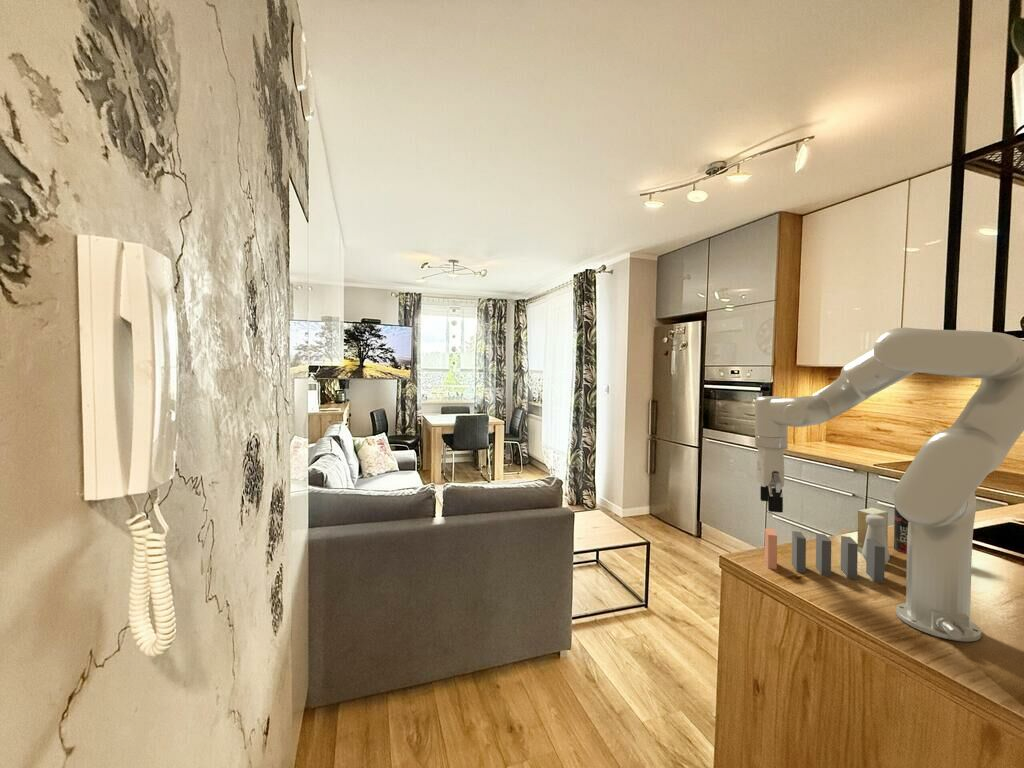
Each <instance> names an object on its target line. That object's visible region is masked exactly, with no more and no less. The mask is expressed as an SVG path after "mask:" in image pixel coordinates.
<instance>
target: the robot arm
mask: <svg viewBox="0 0 1024 768" xmlns="http://www.w3.org/2000/svg"><path fill="white" fill-rule="evenodd" d="M916 373H918V374H919V373H922V374H930V375H938V376H940V375H941V376H951V377H959V378H967V379H968V378H969V379H980V384H979V387H978V388H977V390H976V391H975V392H974V394H973V395H972V396H971V398H970V399H969V400H968V401H967V403H966V404H965V406H964V408H963V410H962V411H961V413H960V414H959V416H958V417H957V418H956V420H955V421H954V422H953V424H952V425H951V426H950V427H949V428H946V429H943V430H940V431H938V432H936V433H935V434H933V435H932V436H930V437H929V438H928V439H927V440H926V441H925V442H924V444H923V445H922V446H921V447H920V449H919V450H918V452H917V453H916V455H915V456H914V459H913V460H912V461H911V463H910V464H909V466H908V467H907V469H906V470H905V472H904V473H903V475H902V477H901V478H900V480H899V481H898V482H897V484H896V486H895V488H894V491H893V494H892V495H893V497H892V499H893V500H892V501H893V504H894V508H895V507H896V509H897V511H898V512H899V513H900V515H901V516H902V517H904V518H905V519H906V520H908V521H909V522H908V535H907V554H906V577H905V578H906V580H905V581H906V583H905V586H906V588H905V589H906V591H905V602H902V603H899V604H897V605H896V608H895V613H896V615H897V617H898V618H899V619H900V620H901V621H902V622H904V623H905V624H906V625H909V626H911V628H914V629H916V630H918V631H921V632H924V633H925V634H929V635H931V636H934V637H938V638H942V639H945V640H949V641H956V642H966V643H967V642H975V641H976V642H977V641H978V640H980V639H981V637H982V629H981V628H980V627H979V625H978V624H977V623H975V622H974V621H973V620H971V600H972V599H971V598H972V597H971V596H972V560H973V558H972V557H973V537H974V528H975V527H974V526H975V518H976V511H977V498H976V497H977V496H976V493H975V492H976V491H977V489H978V488H979V487H980V485H981V484H982V483H983V481H984V480H985V478H986V477H987V476H988V475H989V474H991V473H993V472H995V471H996V470H997V469H998V468H1000V467H1001V466H1002V464H1003V463H1004V461H1005V459H1006V457H1007V455H1008V454H1009V452H1010V451H1011V449H1012V448H1013V446H1014V445H1015V443H1016V442H1017V441H1018V439H1019V438H1020V436H1021V435H1022V434H1023V432H1024V340H1023V339H1021V338H1019V337H1016V336H1015V335H1011V334H1007V333H1003V332H997V331H996V332H995V331H983V330H961V329H959V330H958V329H957V330H956V329H931V328H930V329H929V328H916V327H896V328H893V329H889V330H888V331H885V332H884V333H882V334H881V335H880V336H879V337H878V338H877V339H876V341H875V342H874V345H873V348H872V349H869V351H867V352H865V353H862V354H861V355H860V356H858V357H857V358H855V359H853V360H851V361H849V362H848V363H846V364H845V365H844V366H843V367H842V368H841V370H840V375H839V376H838V377H837V378H836V379H835V380H834V381H832V383H830V384H829V385H827V386H825V387H823V388H822V389H820V390H818V391H817V392H815V393H812V394H811V395H806V396H804V395H803V396H796V397H795V396H794V397H783V396H777V395H774V396H773V395H772V396H770V395H769V396H768V395H767V396H766V395H765V396H758V397H757V398H756V399H755V402H754V432H755V433H754V436H755V437H754V447H755V448H756V449H757V456H756V457H757V459H756V480H757V482H758V483H759V484H760V494H759V495H760V501H761V502H768V503H767V504H768V505H767V510H768V511H769V512H770V513H772V512H773V513H783V512H784V511H783V510H784V503H783V502H784V495H783V487H785V486H784V485H785V456H784V451H786V450H788V446H789V444H788V443H789V441H788V436H789V435H788V434H789V433H788V432H789V429H788V427H792V428H804V427H805V428H806V427H810V426H816V425H820V424H824V423H827V422H828V421H830V420H832V419H834V418H836V417H838V416H841V414H844V413H846V412H847V411H849V410H852V409H853V408H854V407H856V406H858V405H859V404H862V402H864V401H867V400H868V399H870V398H871V397H872V396H874V395H875V394H878V393H879V392H881V391H883V390H885V389H887V388H889V387H890V386H893V385H895V384H896V383H898V382H900V381H902V380H905V379H906V378H908V377H910V376H912V375H914V374H916Z"/></svg>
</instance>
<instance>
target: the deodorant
mask: <svg viewBox="0 0 1024 768" xmlns="http://www.w3.org/2000/svg"><path fill="white" fill-rule="evenodd" d="M893 516H894V518H893V519H894V523H893V525H894V526H893V550H895V551H897V552H898V553H902V554H906V555H907V535H908V522H909V521H908V520H906V519H905V518H904V517H902V516H901V515H900V513H899V512H898V511H897V509H896V507H895V506H894V514H893Z"/></svg>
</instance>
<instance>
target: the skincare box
mask: <svg viewBox="0 0 1024 768" xmlns="http://www.w3.org/2000/svg"><path fill="white" fill-rule="evenodd" d="M870 514H873V515H879V516H882V517H884V518H885V519H886V526H883V527H884V532H885V537H886V541H887V546H889V545H888V544H889V543H888V542H889V531H888V530H889V528H888V527H889V520H888V519H889V518H888V517H889V512H888V511H886V510H883V509H878V508H875V507H867V508H862V509H857V544H858V552H859V553H861V554H862V550H863V546H864V542H865V537H866V533H867V529H868V524H867V523H866V516H867V515H870Z"/></svg>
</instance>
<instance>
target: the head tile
mask: <svg viewBox="0 0 1024 768" xmlns="http://www.w3.org/2000/svg"><path fill="white" fill-rule="evenodd" d="M777 561H778V535H777V533H776V531H775V529H773V528H764V562H765V564H766V566H767V569H770V570H777V569H778V566H777V565H778V562H777Z"/></svg>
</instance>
